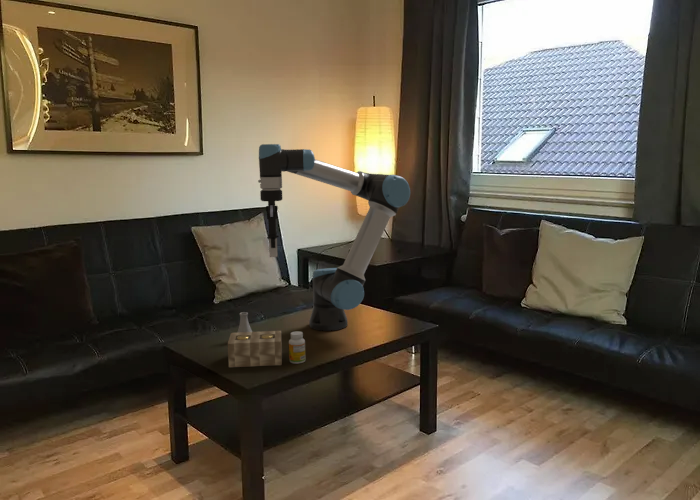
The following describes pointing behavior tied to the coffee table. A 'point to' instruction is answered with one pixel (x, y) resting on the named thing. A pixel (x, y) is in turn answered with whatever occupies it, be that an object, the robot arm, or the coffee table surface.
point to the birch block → (255, 349)
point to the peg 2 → (267, 336)
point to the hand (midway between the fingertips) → (273, 256)
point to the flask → (244, 323)
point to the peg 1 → (243, 337)
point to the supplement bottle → (297, 348)
